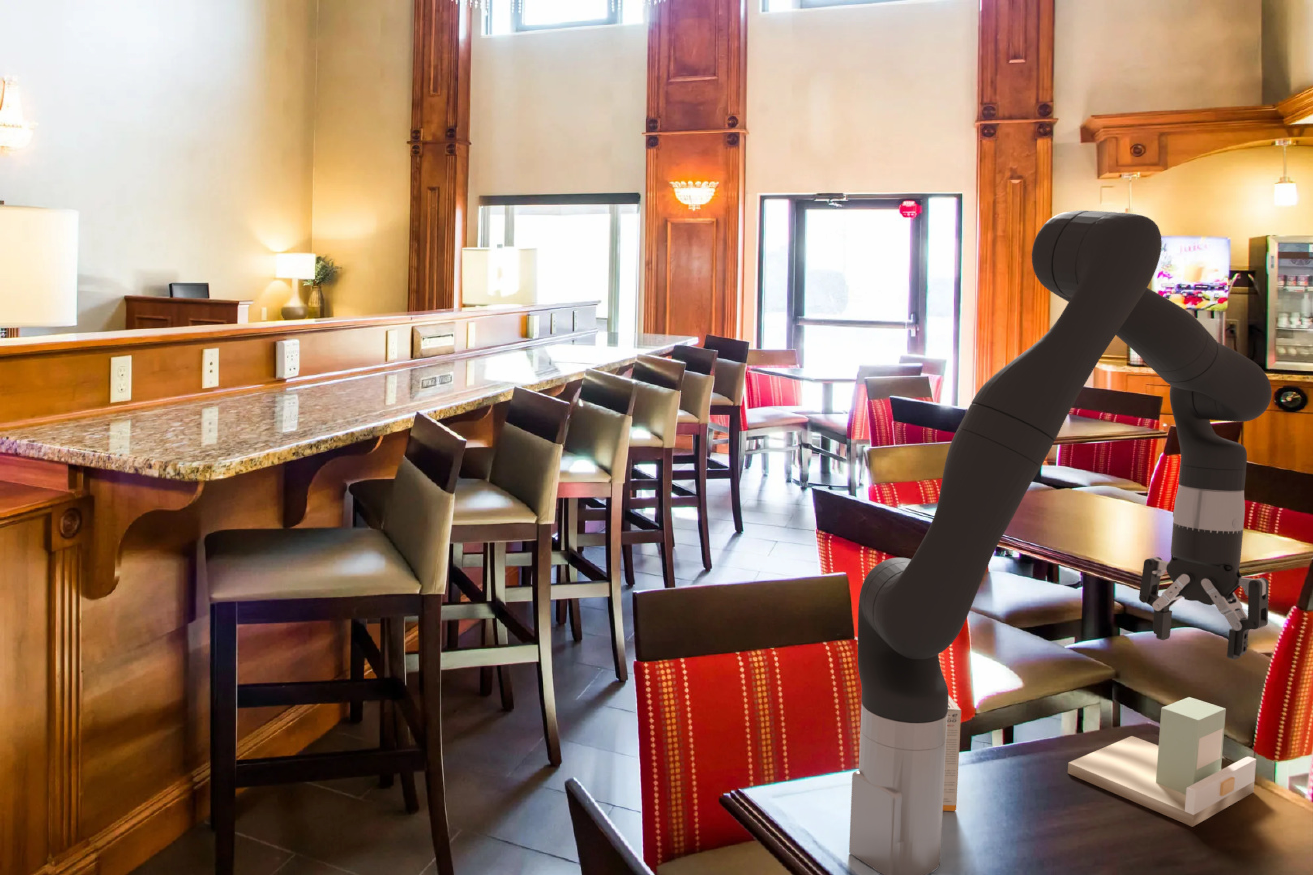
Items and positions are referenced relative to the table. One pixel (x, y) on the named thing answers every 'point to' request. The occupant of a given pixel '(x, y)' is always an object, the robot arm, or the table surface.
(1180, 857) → the table surface
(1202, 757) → the carton
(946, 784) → the supplement box
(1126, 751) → the shelf board
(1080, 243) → the robot arm
